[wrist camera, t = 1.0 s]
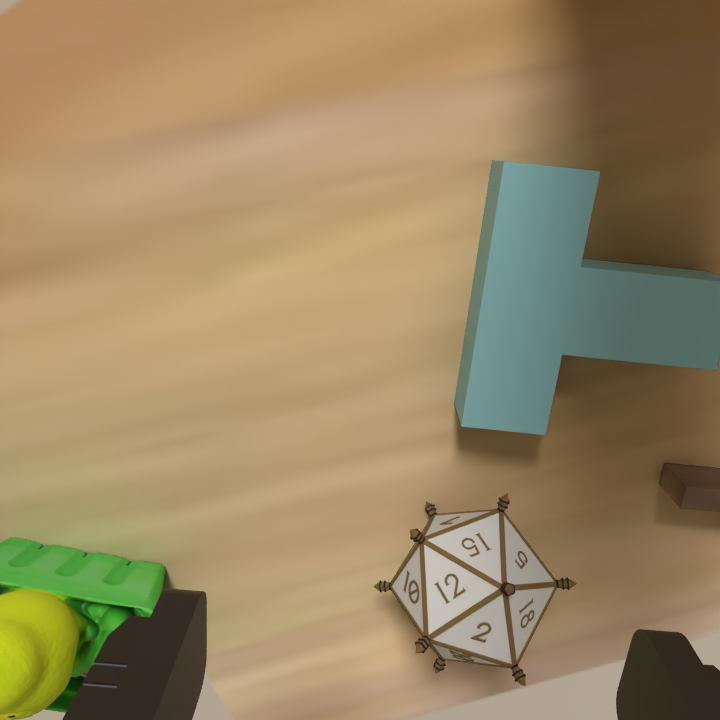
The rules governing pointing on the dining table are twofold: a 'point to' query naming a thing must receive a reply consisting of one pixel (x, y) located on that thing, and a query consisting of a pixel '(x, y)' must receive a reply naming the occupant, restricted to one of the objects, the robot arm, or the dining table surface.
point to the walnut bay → (692, 486)
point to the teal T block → (565, 301)
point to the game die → (474, 588)
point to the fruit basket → (62, 618)
